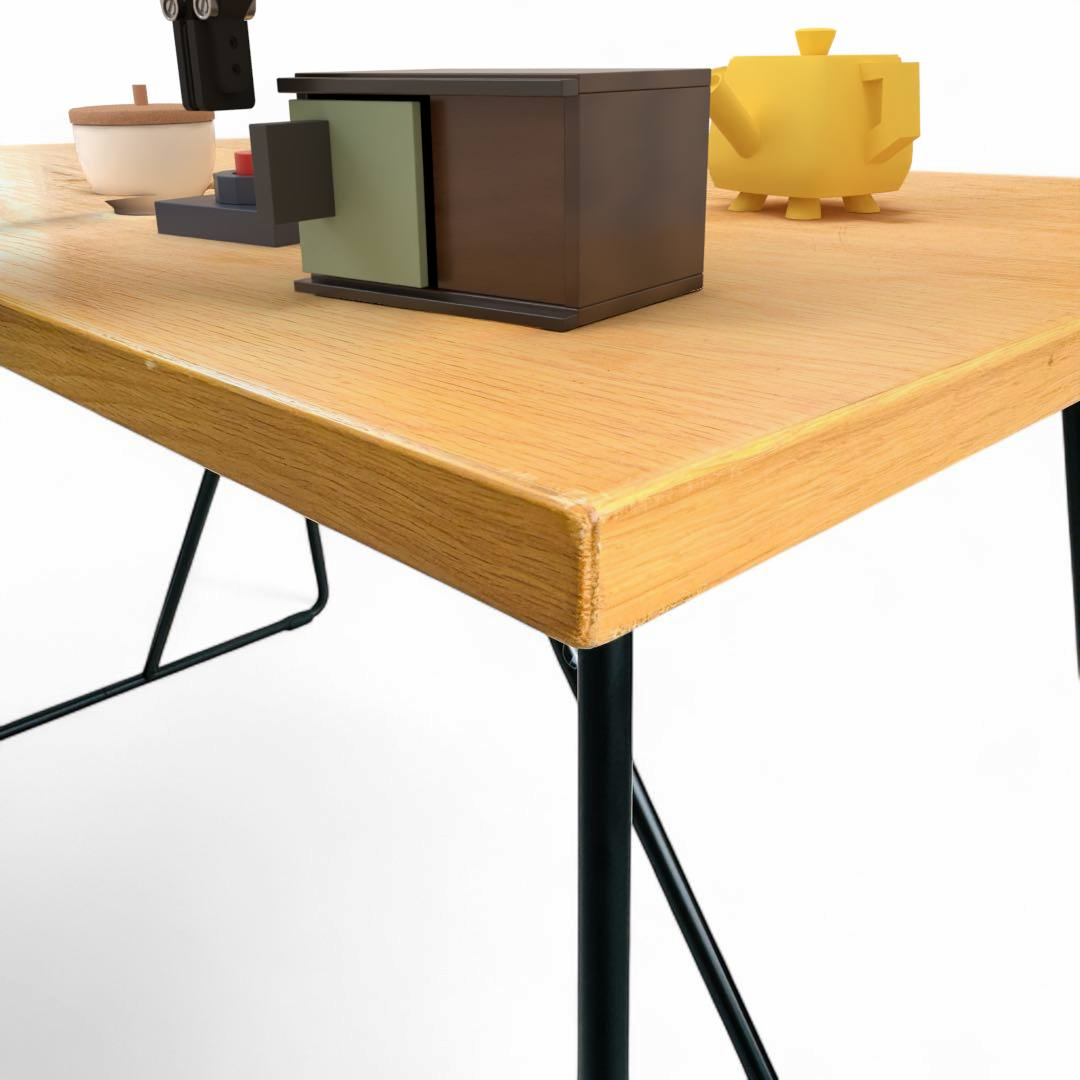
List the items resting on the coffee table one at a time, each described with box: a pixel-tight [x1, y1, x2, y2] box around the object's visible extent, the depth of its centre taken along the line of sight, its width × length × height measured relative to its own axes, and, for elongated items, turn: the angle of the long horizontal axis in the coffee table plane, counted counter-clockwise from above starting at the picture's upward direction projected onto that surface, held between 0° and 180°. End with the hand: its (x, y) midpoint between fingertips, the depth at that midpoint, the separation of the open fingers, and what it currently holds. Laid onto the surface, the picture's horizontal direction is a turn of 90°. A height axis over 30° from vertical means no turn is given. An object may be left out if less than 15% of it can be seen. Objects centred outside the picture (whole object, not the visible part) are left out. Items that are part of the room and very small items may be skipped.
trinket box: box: [68, 84, 217, 217], centre depth 94 cm, size 11×11×9 cm
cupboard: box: [276, 67, 712, 332], centre depth 61 cm, size 12×17×11 cm
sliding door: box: [248, 98, 428, 288], centre depth 57 cm, size 5×8×8 cm, turn 53°
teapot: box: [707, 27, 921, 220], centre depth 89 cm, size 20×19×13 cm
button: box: [233, 149, 253, 175], centre depth 82 cm, size 4×4×2 cm
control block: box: [154, 168, 300, 249], centre depth 83 cm, size 12×10×4 cm
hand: (220, 108), depth 59 cm, fingers closed
